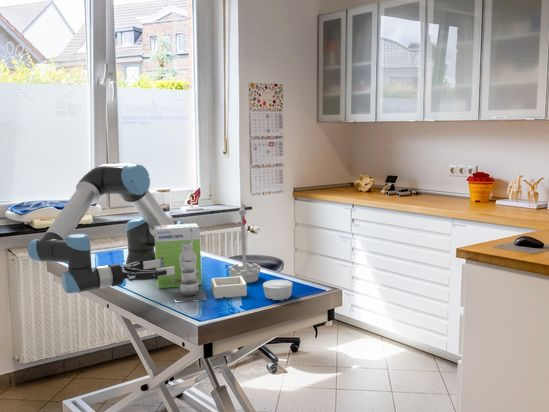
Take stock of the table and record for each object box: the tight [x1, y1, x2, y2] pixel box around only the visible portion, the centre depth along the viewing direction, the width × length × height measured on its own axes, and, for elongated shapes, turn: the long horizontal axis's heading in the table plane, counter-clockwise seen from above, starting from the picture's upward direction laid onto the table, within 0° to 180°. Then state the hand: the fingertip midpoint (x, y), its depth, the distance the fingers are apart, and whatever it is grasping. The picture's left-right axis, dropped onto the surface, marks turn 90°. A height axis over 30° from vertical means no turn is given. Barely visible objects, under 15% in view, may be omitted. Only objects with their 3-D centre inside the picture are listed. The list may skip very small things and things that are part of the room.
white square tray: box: [210, 276, 248, 299], centre depth 224 cm, size 12×12×4 cm
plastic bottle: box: [179, 243, 199, 296], centre depth 219 cm, size 6×7×20 cm
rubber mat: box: [172, 289, 208, 302], centre depth 221 cm, size 12×12×1 cm
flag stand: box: [228, 207, 261, 284], centre depth 241 cm, size 13×13×30 cm
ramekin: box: [262, 279, 294, 301], centre depth 217 cm, size 11×11×5 cm
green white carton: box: [154, 222, 203, 289], centre depth 237 cm, size 18×10×24 cm, turn 105°
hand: (167, 266), depth 214 cm, fingers open, 13 cm apart
